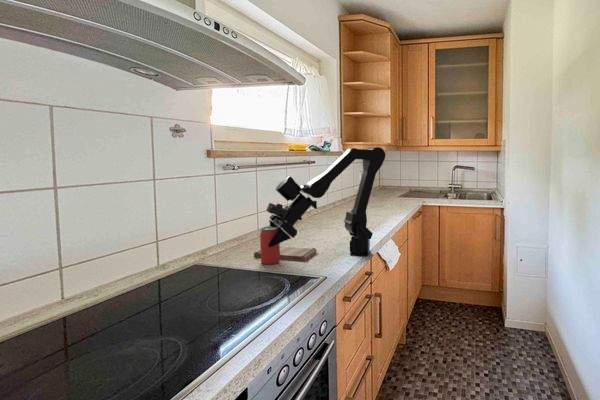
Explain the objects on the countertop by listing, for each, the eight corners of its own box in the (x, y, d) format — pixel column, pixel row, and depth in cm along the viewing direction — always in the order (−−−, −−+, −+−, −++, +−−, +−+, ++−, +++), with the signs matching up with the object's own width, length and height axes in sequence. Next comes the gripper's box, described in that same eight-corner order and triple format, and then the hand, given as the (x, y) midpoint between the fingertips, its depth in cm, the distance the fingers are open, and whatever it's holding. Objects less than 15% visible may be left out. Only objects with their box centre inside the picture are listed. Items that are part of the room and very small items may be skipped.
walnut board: (316, 252, 157) (316, 248, 157) (305, 260, 146) (305, 255, 146) (268, 249, 164) (267, 244, 164) (253, 256, 153) (253, 252, 153)
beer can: (282, 260, 148) (281, 226, 146) (276, 265, 141) (275, 230, 140) (264, 259, 150) (263, 226, 148) (258, 264, 143) (257, 229, 142)
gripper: (274, 191, 153) (245, 223, 151) (286, 197, 135) (253, 233, 133) (295, 212, 156) (267, 243, 154) (310, 219, 138) (278, 255, 136)
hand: (266, 243), depth 144 cm, fingers open, 9 cm apart
